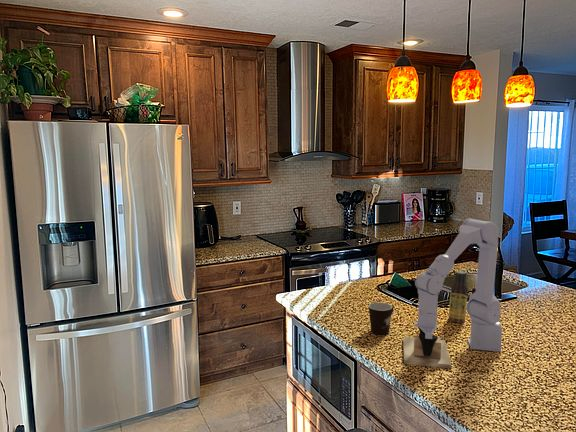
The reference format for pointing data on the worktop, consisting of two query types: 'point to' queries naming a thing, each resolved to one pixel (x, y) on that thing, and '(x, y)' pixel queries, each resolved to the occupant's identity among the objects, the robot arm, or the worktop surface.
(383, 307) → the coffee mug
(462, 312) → the sauce bottle
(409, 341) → the board
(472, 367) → the worktop surface
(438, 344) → the block
